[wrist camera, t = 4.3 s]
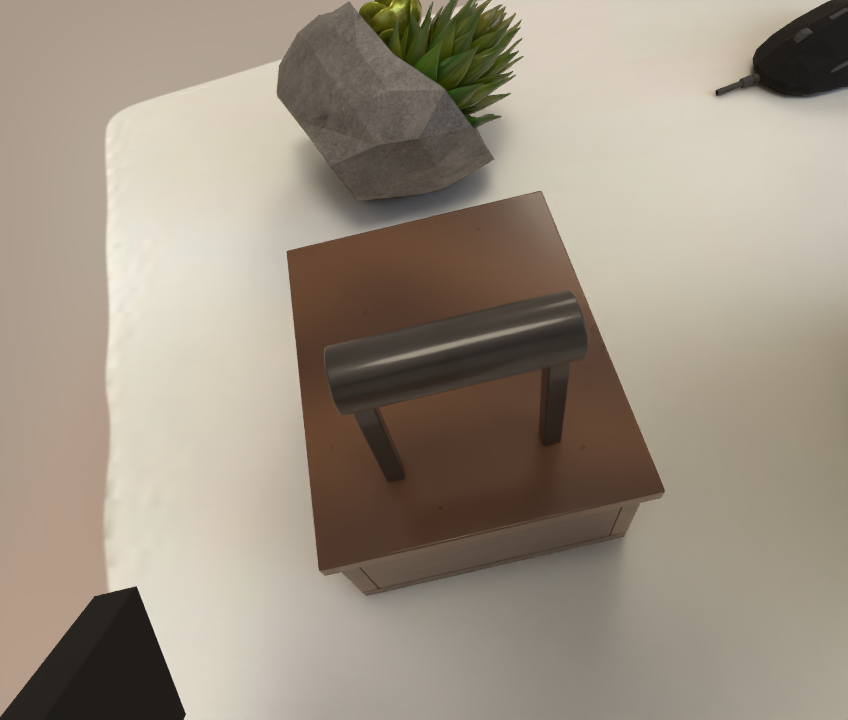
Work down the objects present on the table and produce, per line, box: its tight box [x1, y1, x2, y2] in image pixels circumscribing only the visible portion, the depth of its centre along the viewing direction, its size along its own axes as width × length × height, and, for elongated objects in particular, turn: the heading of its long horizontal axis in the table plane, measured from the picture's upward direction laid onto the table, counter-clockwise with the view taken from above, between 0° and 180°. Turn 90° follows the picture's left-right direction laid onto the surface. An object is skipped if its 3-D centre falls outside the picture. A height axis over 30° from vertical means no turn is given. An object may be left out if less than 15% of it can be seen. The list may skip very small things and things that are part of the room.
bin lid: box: [287, 191, 665, 575], centre depth 23 cm, size 15×13×9 cm
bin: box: [342, 503, 640, 596], centre depth 31 cm, size 15×13×8 cm
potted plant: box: [277, 0, 523, 201], centre depth 40 cm, size 12×13×15 cm
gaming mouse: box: [716, 0, 848, 96], centre depth 43 cm, size 6×15×4 cm, turn 105°
